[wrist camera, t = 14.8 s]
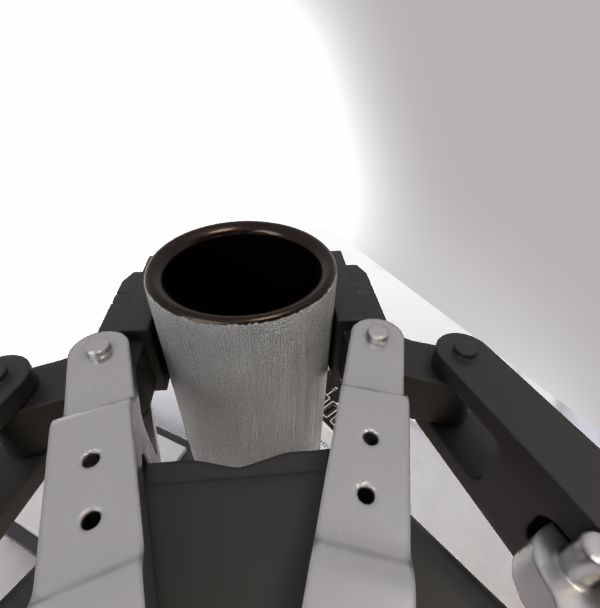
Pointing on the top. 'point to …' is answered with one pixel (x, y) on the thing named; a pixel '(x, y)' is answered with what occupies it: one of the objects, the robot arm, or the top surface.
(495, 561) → the top surface
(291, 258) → the grey hollow cylinder
